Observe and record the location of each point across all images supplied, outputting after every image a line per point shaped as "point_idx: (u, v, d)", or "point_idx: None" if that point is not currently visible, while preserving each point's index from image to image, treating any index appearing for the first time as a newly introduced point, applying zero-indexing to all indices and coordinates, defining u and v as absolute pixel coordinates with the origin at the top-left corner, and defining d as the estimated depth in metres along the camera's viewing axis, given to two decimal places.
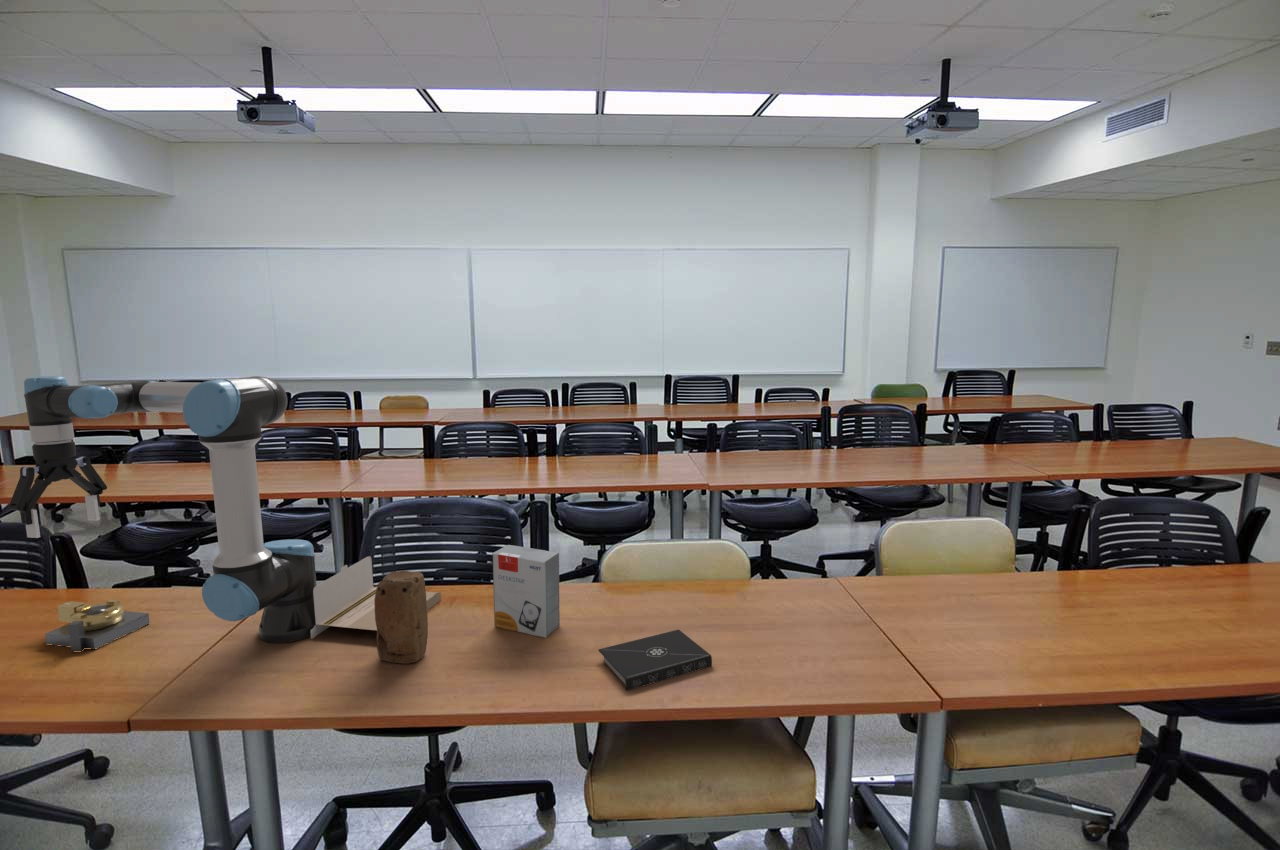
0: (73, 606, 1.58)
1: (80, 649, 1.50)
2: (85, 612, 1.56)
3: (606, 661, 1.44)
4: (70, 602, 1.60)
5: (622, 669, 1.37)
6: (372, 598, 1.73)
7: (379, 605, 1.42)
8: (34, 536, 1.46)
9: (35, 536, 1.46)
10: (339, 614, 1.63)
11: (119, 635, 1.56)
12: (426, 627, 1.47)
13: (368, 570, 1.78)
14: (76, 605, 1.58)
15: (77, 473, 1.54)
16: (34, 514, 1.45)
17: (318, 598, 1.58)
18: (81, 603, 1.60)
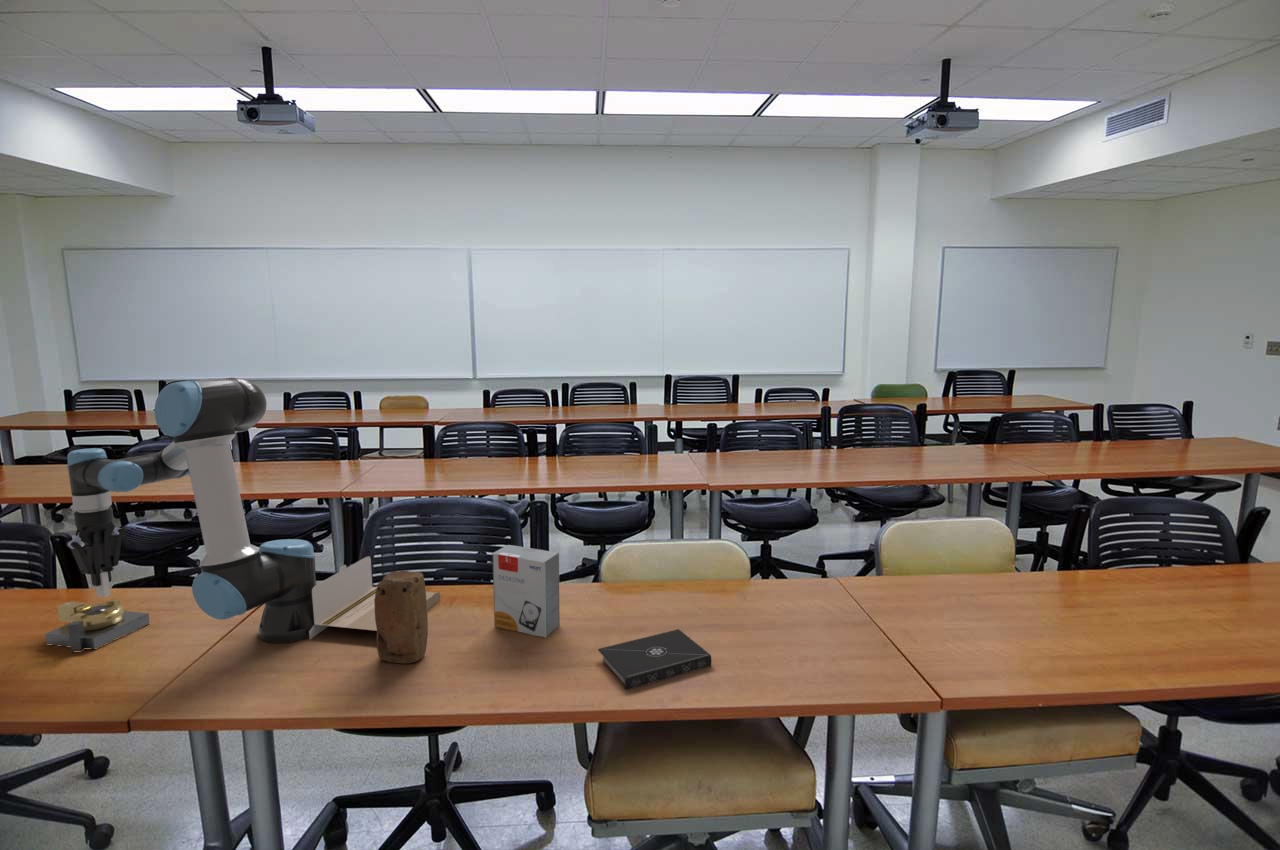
0: (73, 606, 1.58)
1: (80, 649, 1.50)
2: (85, 612, 1.56)
3: (606, 661, 1.44)
4: (70, 602, 1.60)
5: (621, 668, 1.37)
6: (371, 598, 1.73)
7: (379, 605, 1.42)
8: (102, 596, 1.65)
9: (103, 596, 1.65)
10: (338, 614, 1.63)
11: (119, 635, 1.56)
12: (426, 627, 1.47)
13: (367, 570, 1.78)
14: (76, 605, 1.58)
15: (108, 541, 1.65)
16: (102, 577, 1.64)
17: (317, 598, 1.58)
18: (81, 603, 1.60)
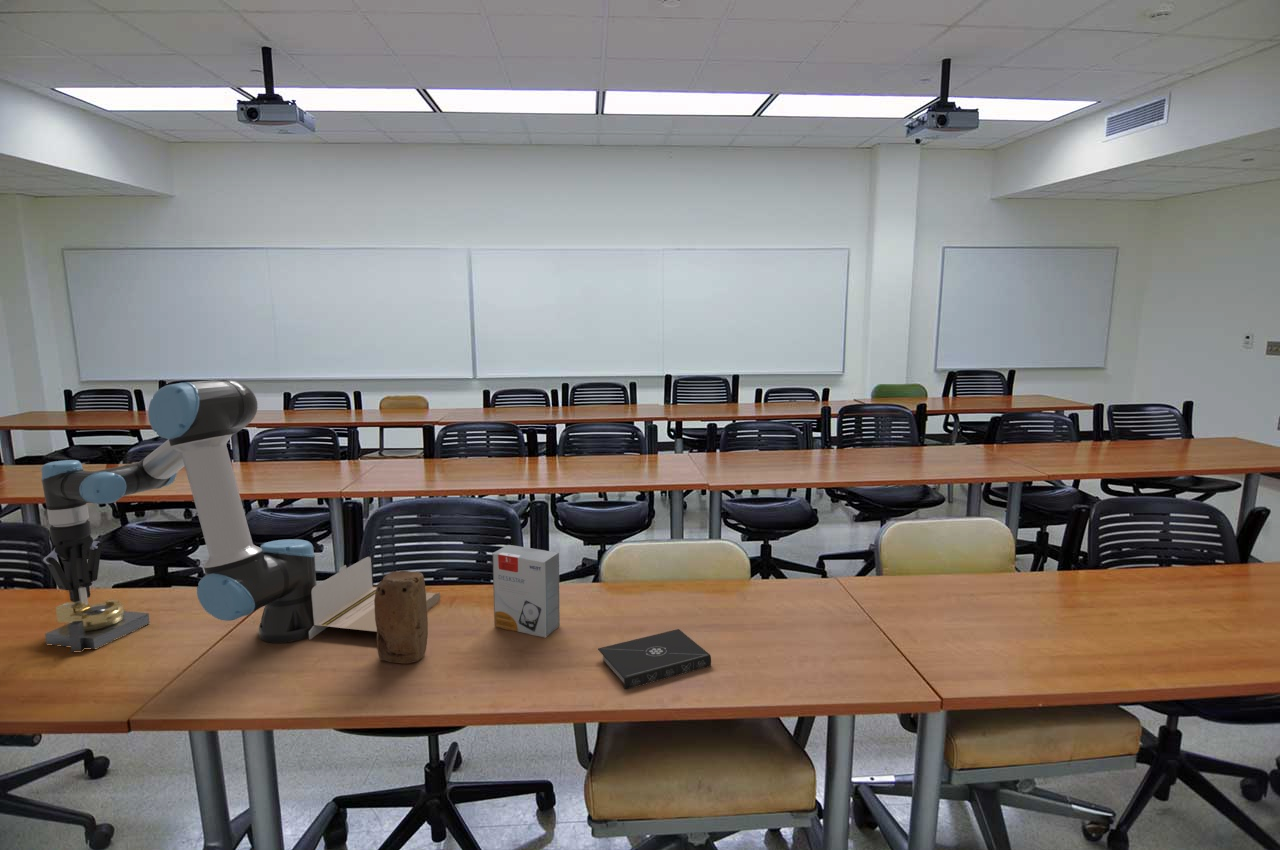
0: (72, 606, 1.57)
1: (80, 649, 1.50)
2: (85, 612, 1.56)
3: (605, 660, 1.45)
4: (68, 603, 1.60)
5: (621, 668, 1.38)
6: (371, 598, 1.73)
7: (379, 605, 1.42)
8: None
9: None
10: (338, 614, 1.63)
11: (119, 635, 1.56)
12: (426, 627, 1.47)
13: (367, 570, 1.78)
14: (75, 605, 1.58)
15: (85, 555, 1.60)
16: (81, 592, 1.60)
17: (317, 599, 1.58)
18: (80, 603, 1.59)
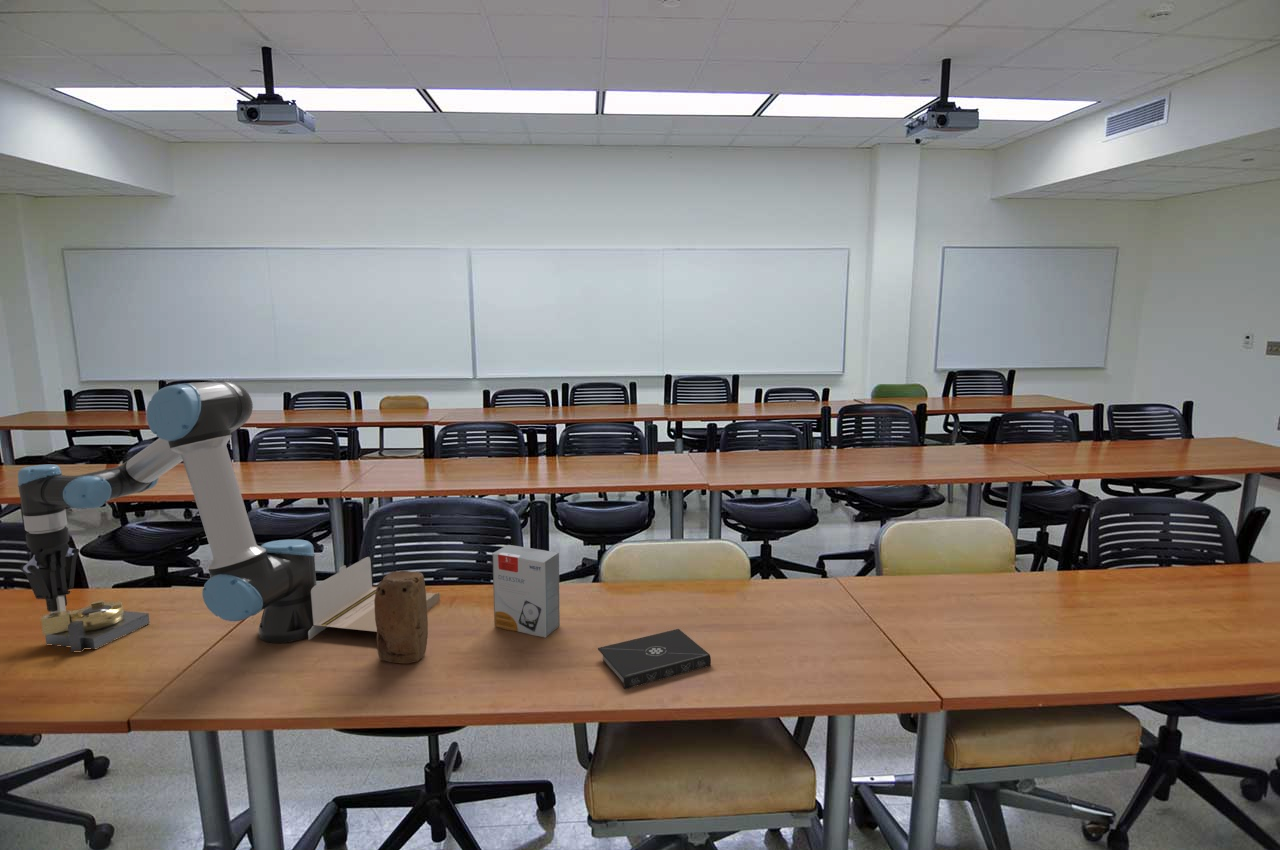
0: (64, 614, 1.53)
1: (80, 649, 1.50)
2: (89, 613, 1.56)
3: (605, 660, 1.45)
4: (47, 615, 1.53)
5: (621, 668, 1.38)
6: (370, 599, 1.73)
7: (379, 605, 1.42)
8: None
9: None
10: (337, 614, 1.63)
11: (119, 635, 1.56)
12: (426, 627, 1.47)
13: (366, 570, 1.78)
14: (65, 613, 1.54)
15: (64, 562, 1.55)
16: (59, 601, 1.54)
17: (316, 599, 1.58)
18: (66, 611, 1.55)
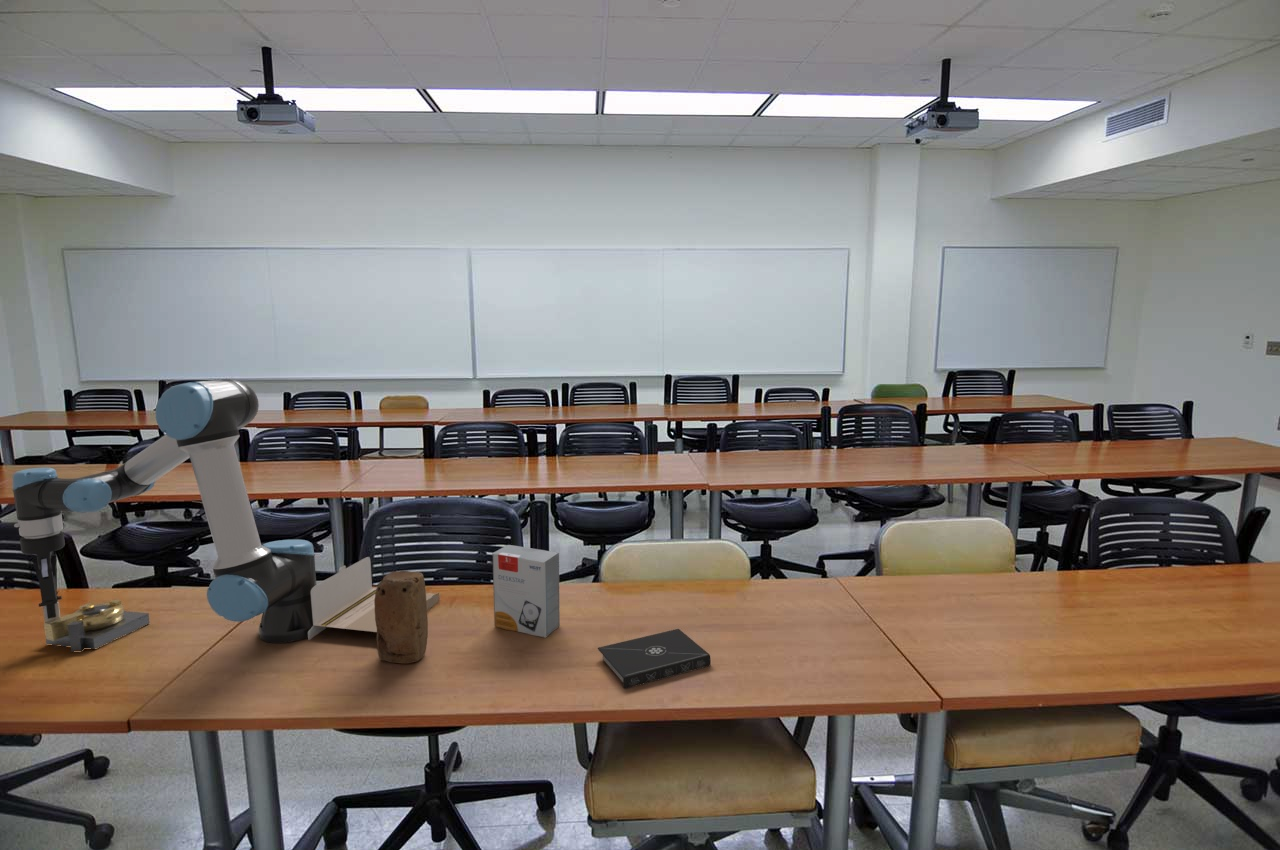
0: (71, 616, 1.52)
1: (80, 649, 1.50)
2: (95, 613, 1.56)
3: (605, 659, 1.45)
4: (49, 621, 1.50)
5: (620, 667, 1.38)
6: (370, 599, 1.73)
7: (379, 605, 1.42)
8: None
9: None
10: (337, 614, 1.63)
11: (119, 635, 1.56)
12: (426, 627, 1.47)
13: (366, 570, 1.78)
14: (69, 616, 1.52)
15: None
16: (58, 606, 1.52)
17: (316, 599, 1.58)
18: (66, 615, 1.53)
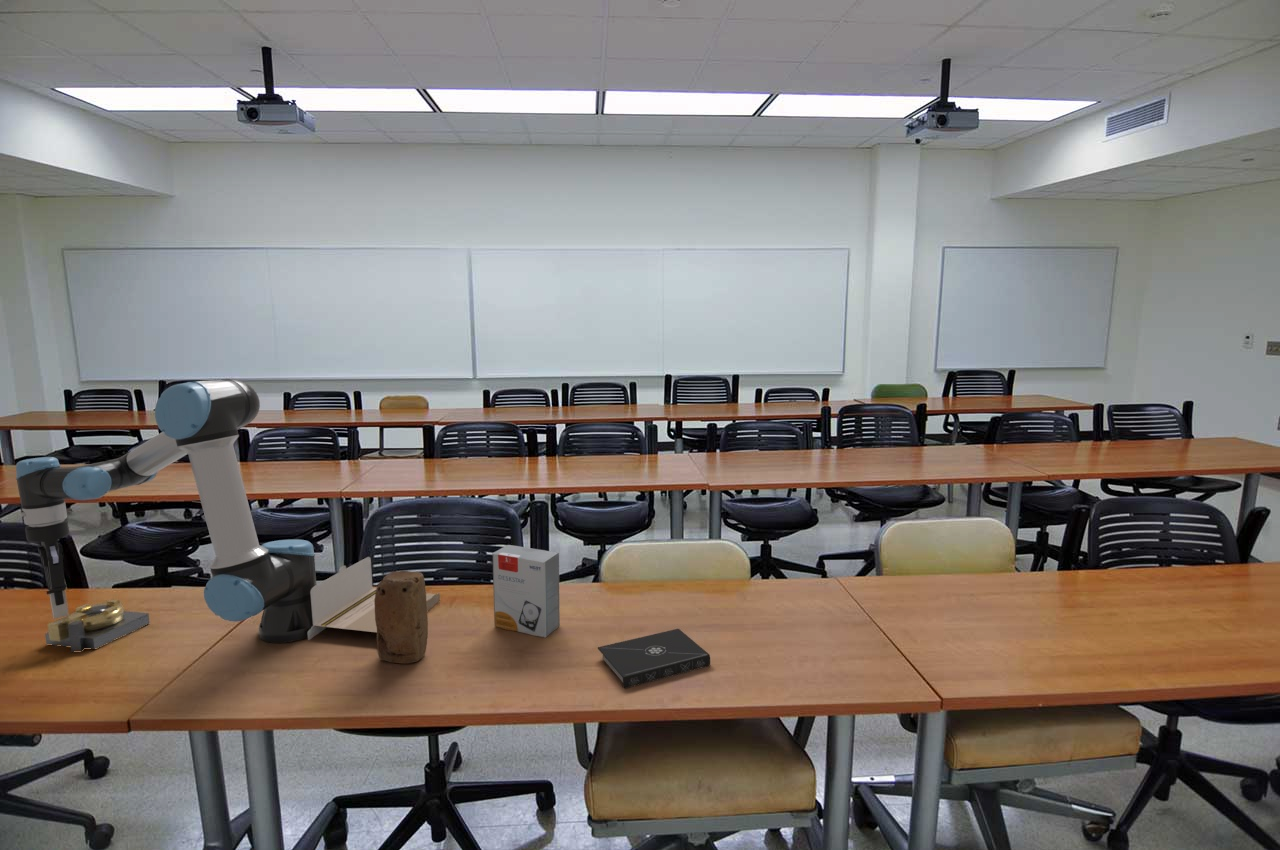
0: (74, 617, 1.52)
1: (80, 649, 1.50)
2: (97, 612, 1.56)
3: (605, 659, 1.45)
4: (53, 622, 1.49)
5: (620, 667, 1.38)
6: (370, 599, 1.73)
7: (379, 605, 1.42)
8: (65, 614, 1.54)
9: (66, 614, 1.54)
10: (337, 615, 1.63)
11: (119, 635, 1.56)
12: (426, 627, 1.47)
13: (367, 571, 1.78)
14: (73, 616, 1.52)
15: None
16: (65, 593, 1.54)
17: (316, 599, 1.58)
18: (68, 616, 1.52)
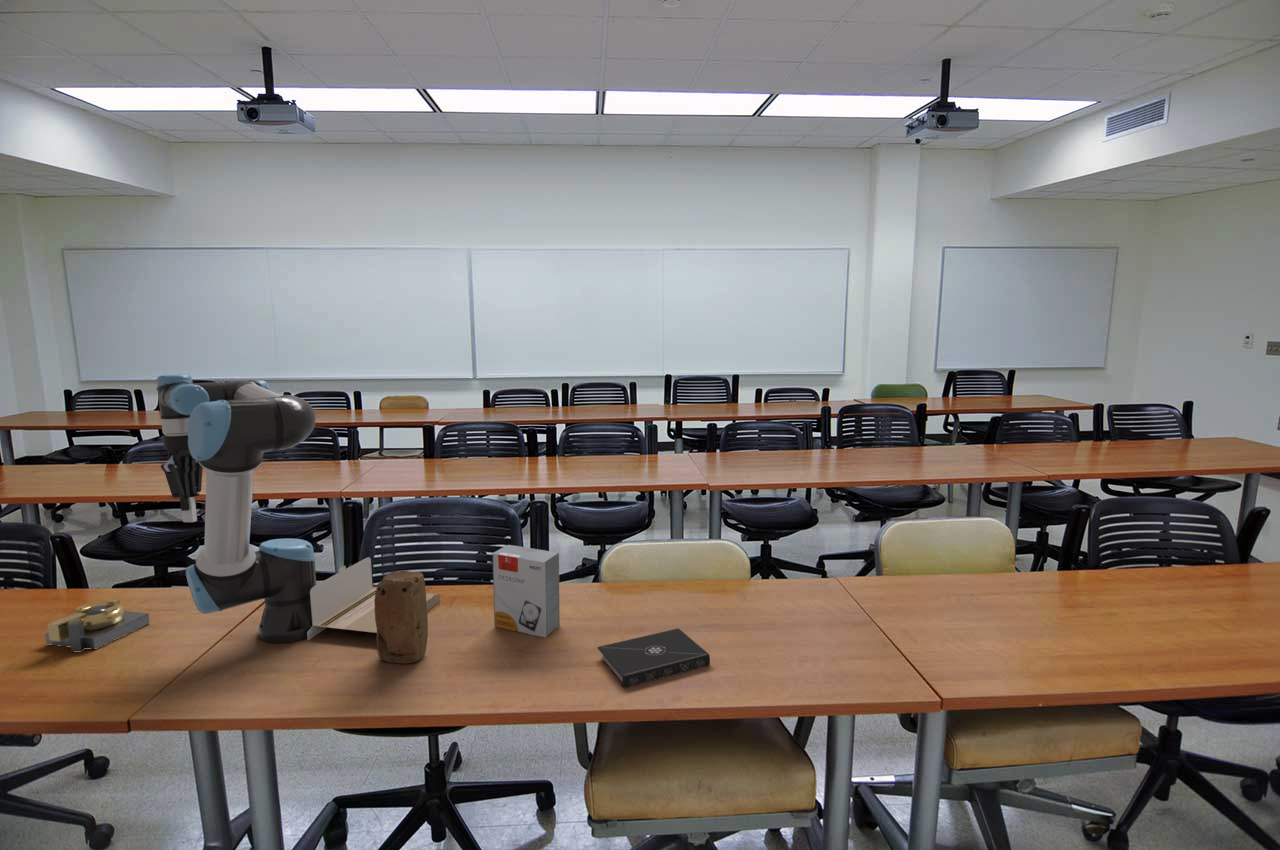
0: (74, 617, 1.52)
1: (80, 649, 1.50)
2: (97, 612, 1.56)
3: (605, 659, 1.45)
4: (53, 622, 1.49)
5: (620, 667, 1.38)
6: (370, 599, 1.73)
7: (379, 605, 1.42)
8: (190, 520, 1.68)
9: (191, 521, 1.68)
10: (337, 615, 1.63)
11: (119, 635, 1.56)
12: (426, 627, 1.47)
13: (367, 571, 1.77)
14: (73, 616, 1.52)
15: (194, 466, 1.68)
16: (191, 501, 1.67)
17: (315, 599, 1.58)
18: (68, 616, 1.52)
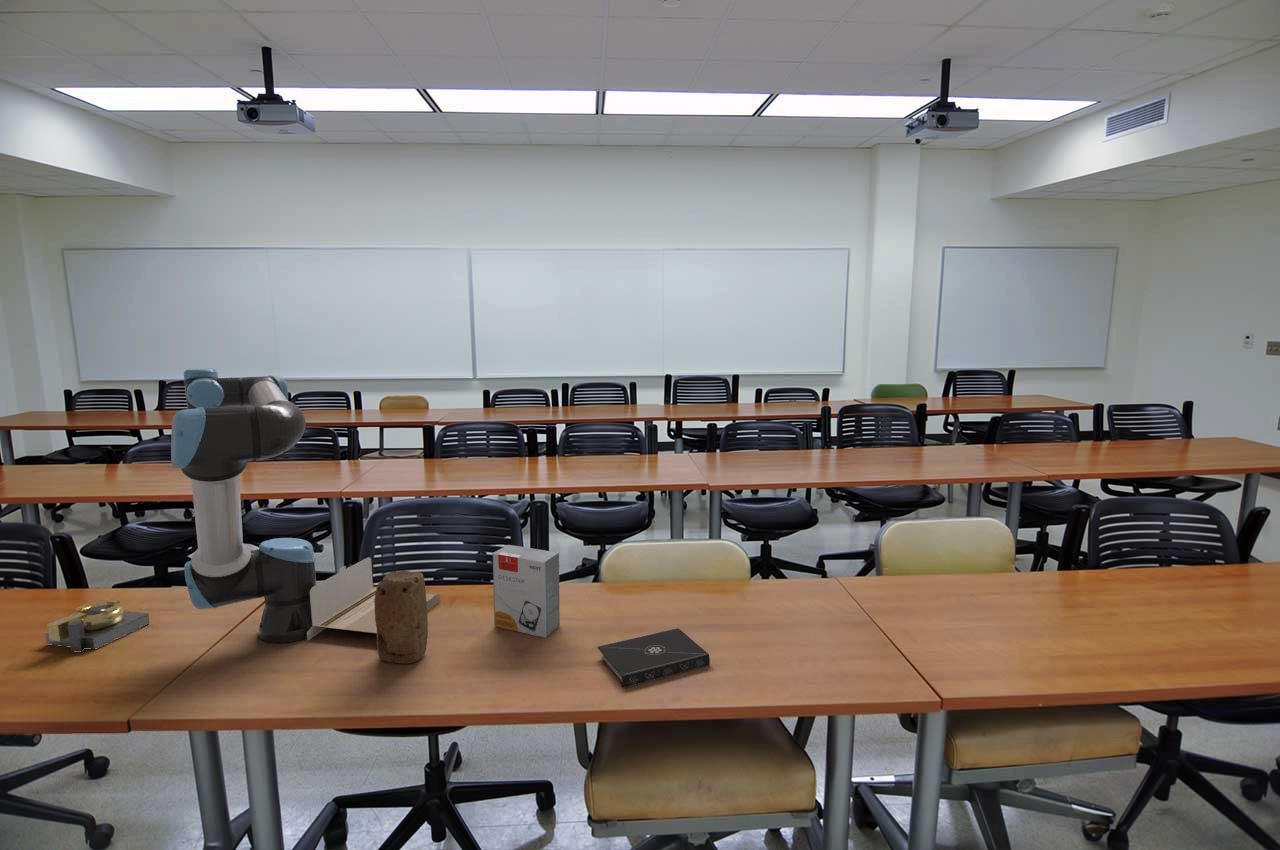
0: (74, 617, 1.52)
1: (80, 649, 1.50)
2: (97, 612, 1.56)
3: (605, 658, 1.45)
4: (53, 622, 1.49)
5: (619, 666, 1.38)
6: (370, 599, 1.72)
7: (379, 605, 1.42)
8: None
9: None
10: (337, 615, 1.63)
11: (119, 635, 1.56)
12: (426, 627, 1.47)
13: (367, 571, 1.77)
14: (73, 616, 1.52)
15: None
16: None
17: (315, 599, 1.58)
18: (68, 616, 1.52)
